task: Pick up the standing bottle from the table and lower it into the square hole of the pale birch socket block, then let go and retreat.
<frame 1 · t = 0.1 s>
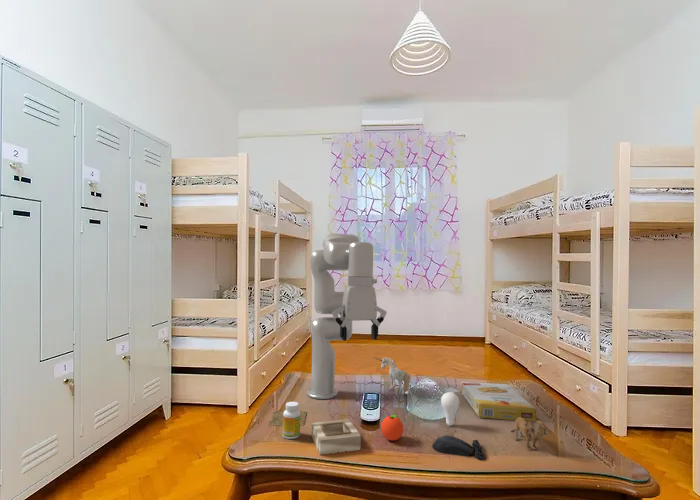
hand: (359, 339, 111), 31 cm above the table, fingers open, 9 cm apart
clementine: (392, 439, 114), on the table
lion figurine: (528, 445, 112), on the table
unicorn figurine: (390, 392, 157), on the table
socket block: (335, 442, 110), on the table
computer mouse: (457, 451, 108), on the table
supplement bottle: (291, 436, 114), on the table
lightbulb: (449, 426, 124), on the table
cereal box: (494, 407, 144), on the table
cookie: (288, 420, 127), on the table
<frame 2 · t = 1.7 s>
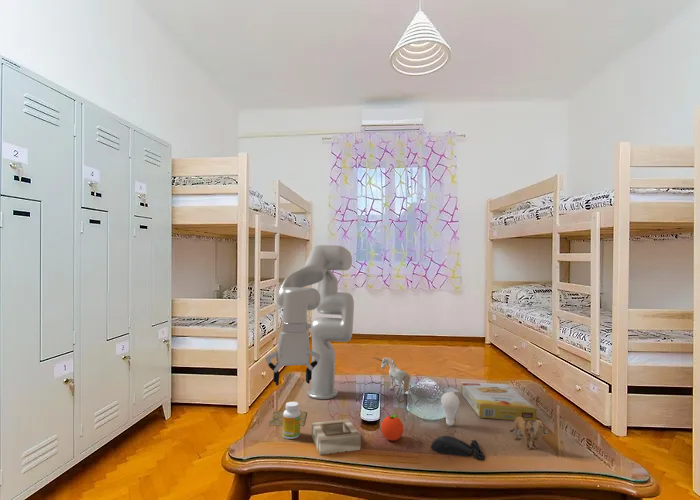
hand: (292, 383, 115), 16 cm above the table, fingers open, 9 cm apart
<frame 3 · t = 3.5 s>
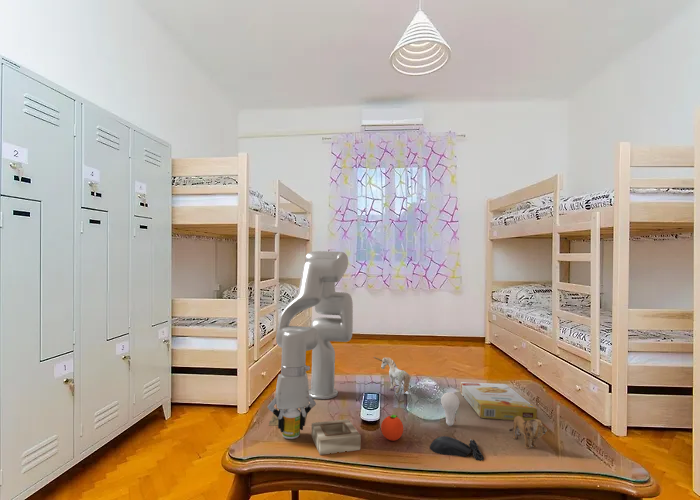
hand: (291, 428, 114), 2 cm above the table, fingers closed on supplement bottle, 5 cm apart
supplement bottle: (291, 436, 114), on the table, touching gripper
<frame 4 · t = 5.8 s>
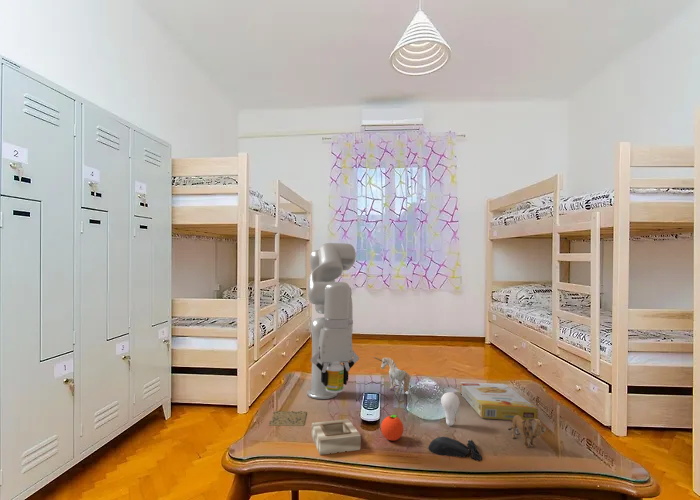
hand: (334, 383, 111), 17 cm above the table, fingers closed on supplement bottle, 5 cm apart
supplement bottle: (334, 390, 111), point 15 cm above the table, touching gripper
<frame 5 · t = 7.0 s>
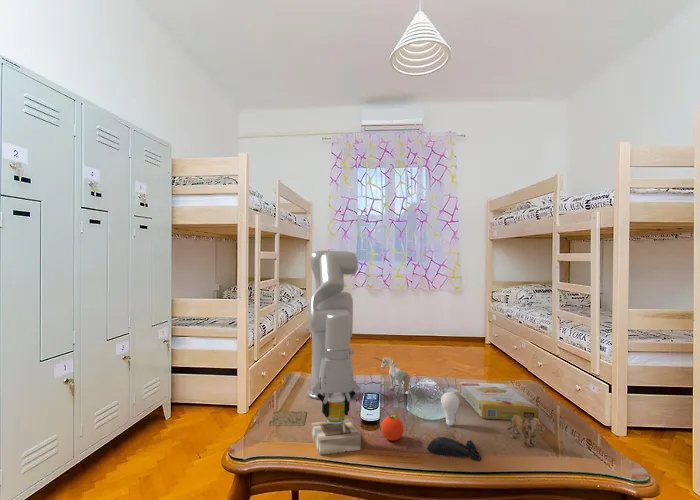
hand: (335, 414, 111), 8 cm above the table, fingers closed on supplement bottle, 5 cm apart
supplement bottle: (335, 421, 111), point 6 cm above the table, touching gripper
when the fingers open (5 cm above the table, at t = 8.2 s): supplement bottle drops 3 cm, resting in socket block.
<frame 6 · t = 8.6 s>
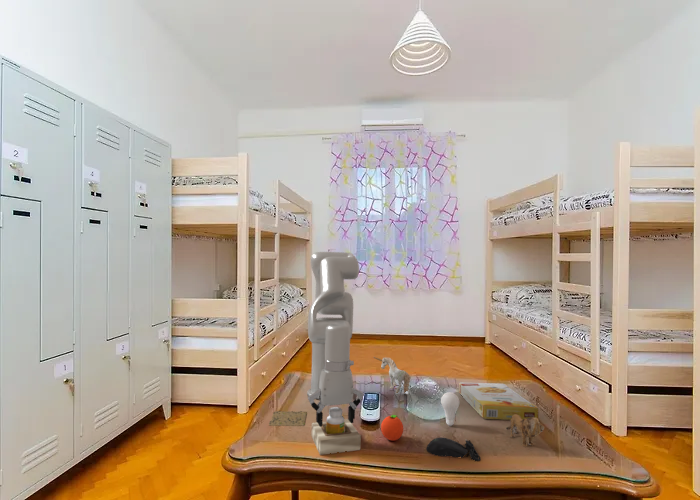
hand: (335, 422, 111), 6 cm above the table, fingers open, 9 cm apart
supplement bottle: (334, 443, 110), resting in socket block
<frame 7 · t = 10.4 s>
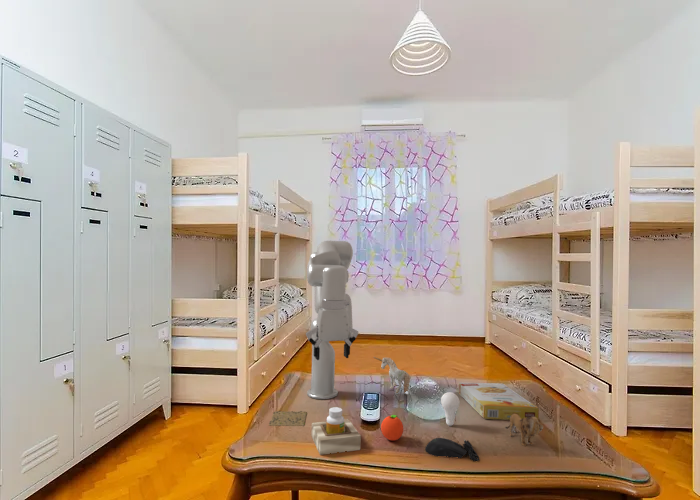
hand: (331, 357, 118), 24 cm above the table, fingers open, 9 cm apart
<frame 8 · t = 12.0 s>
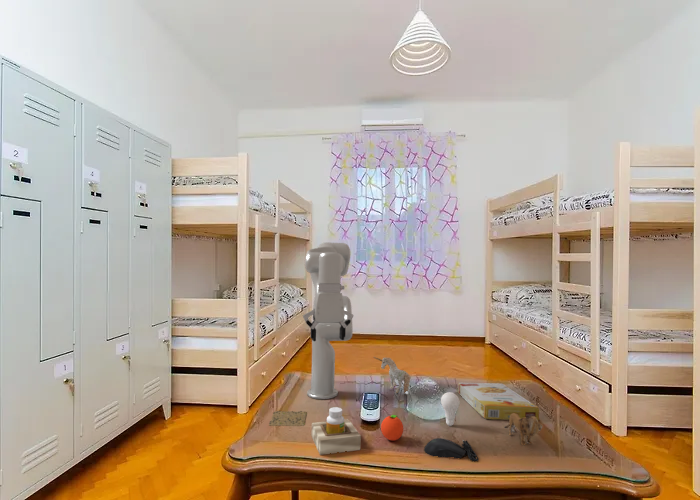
hand: (327, 339, 123), 28 cm above the table, fingers open, 9 cm apart
at the end: supplement bottle 0.1 cm from the socket block (horizontally); supplement bottle touching table; supplement bottle tilted 0° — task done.
